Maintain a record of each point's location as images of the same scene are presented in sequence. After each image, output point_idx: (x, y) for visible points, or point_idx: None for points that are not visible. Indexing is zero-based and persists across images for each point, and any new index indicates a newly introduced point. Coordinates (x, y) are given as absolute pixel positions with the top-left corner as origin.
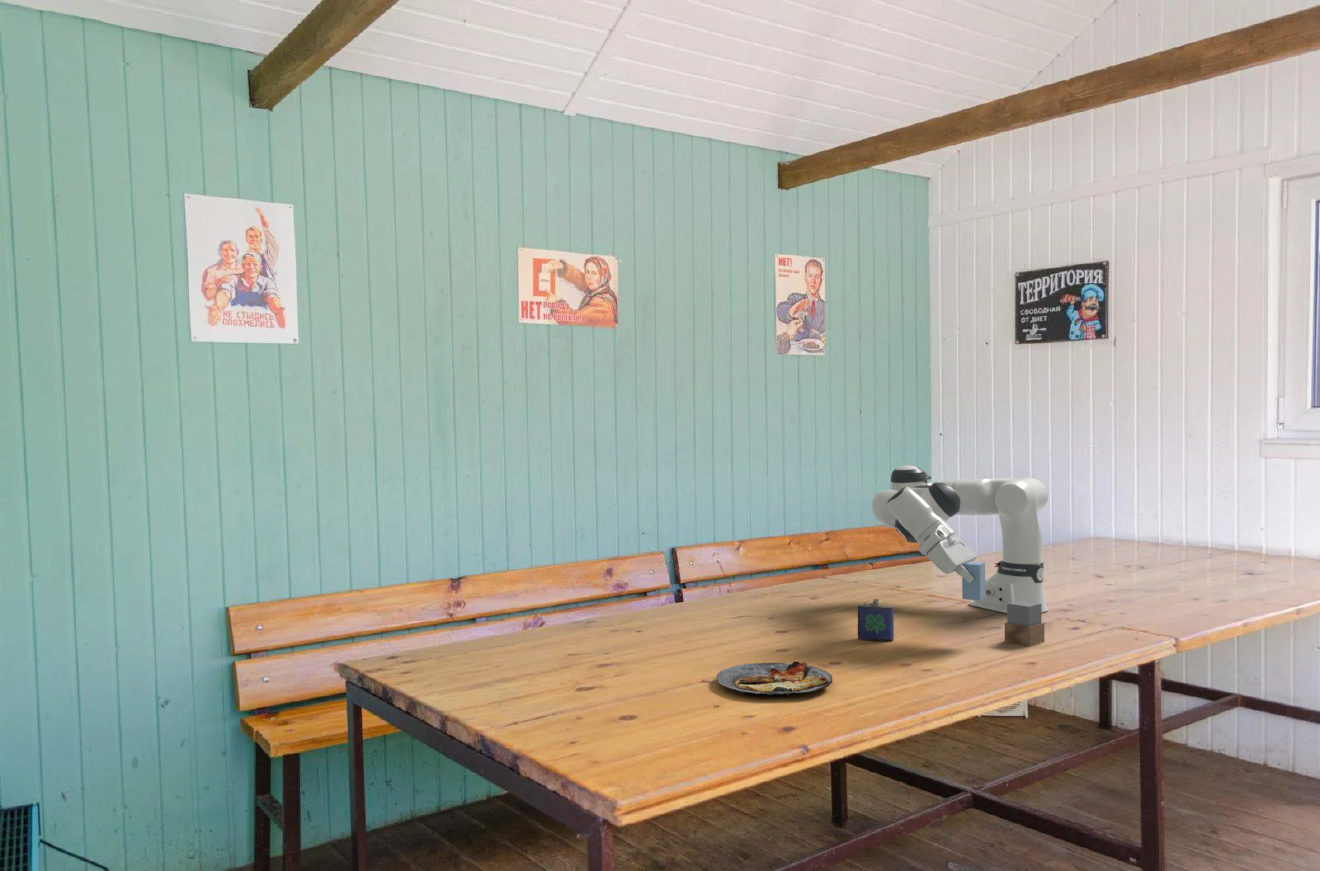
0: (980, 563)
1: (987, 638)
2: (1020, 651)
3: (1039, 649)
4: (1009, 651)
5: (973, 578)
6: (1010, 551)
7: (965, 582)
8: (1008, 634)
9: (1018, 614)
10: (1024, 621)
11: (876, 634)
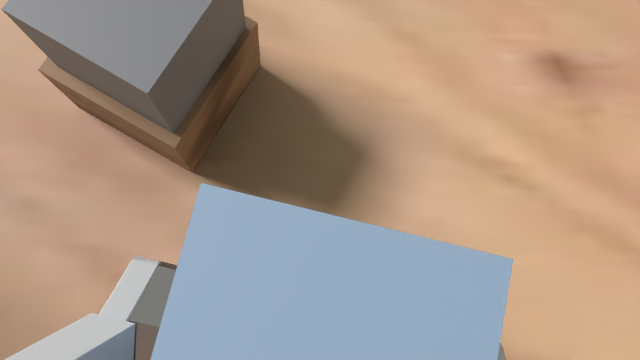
0: (334, 258)
1: (148, 253)
2: (374, 106)
3: (308, 30)
4: (391, 150)
5: (501, 345)
6: None
7: None
8: (198, 145)
9: (206, 52)
10: (229, 37)
11: None
